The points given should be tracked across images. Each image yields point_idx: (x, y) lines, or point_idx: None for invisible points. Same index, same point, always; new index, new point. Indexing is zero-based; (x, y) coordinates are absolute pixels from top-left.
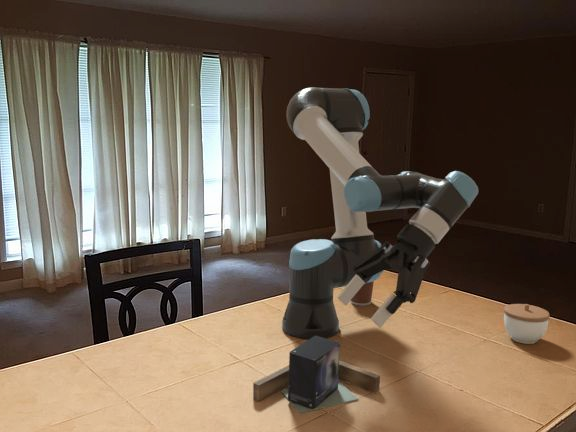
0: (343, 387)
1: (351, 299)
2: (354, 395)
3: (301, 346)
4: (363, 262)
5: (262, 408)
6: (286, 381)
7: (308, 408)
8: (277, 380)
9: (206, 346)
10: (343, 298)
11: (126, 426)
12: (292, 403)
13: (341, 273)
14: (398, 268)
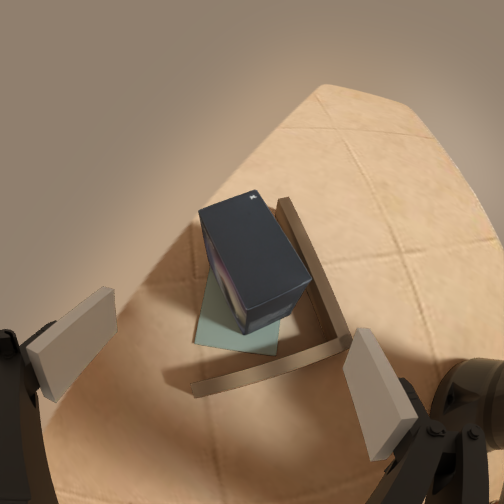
0: (241, 347)
1: (497, 501)
2: (207, 345)
3: (267, 218)
4: (466, 478)
5: None
6: None
7: None
8: (293, 238)
9: (445, 235)
10: (355, 352)
11: (289, 116)
12: None
13: None
14: (26, 501)
